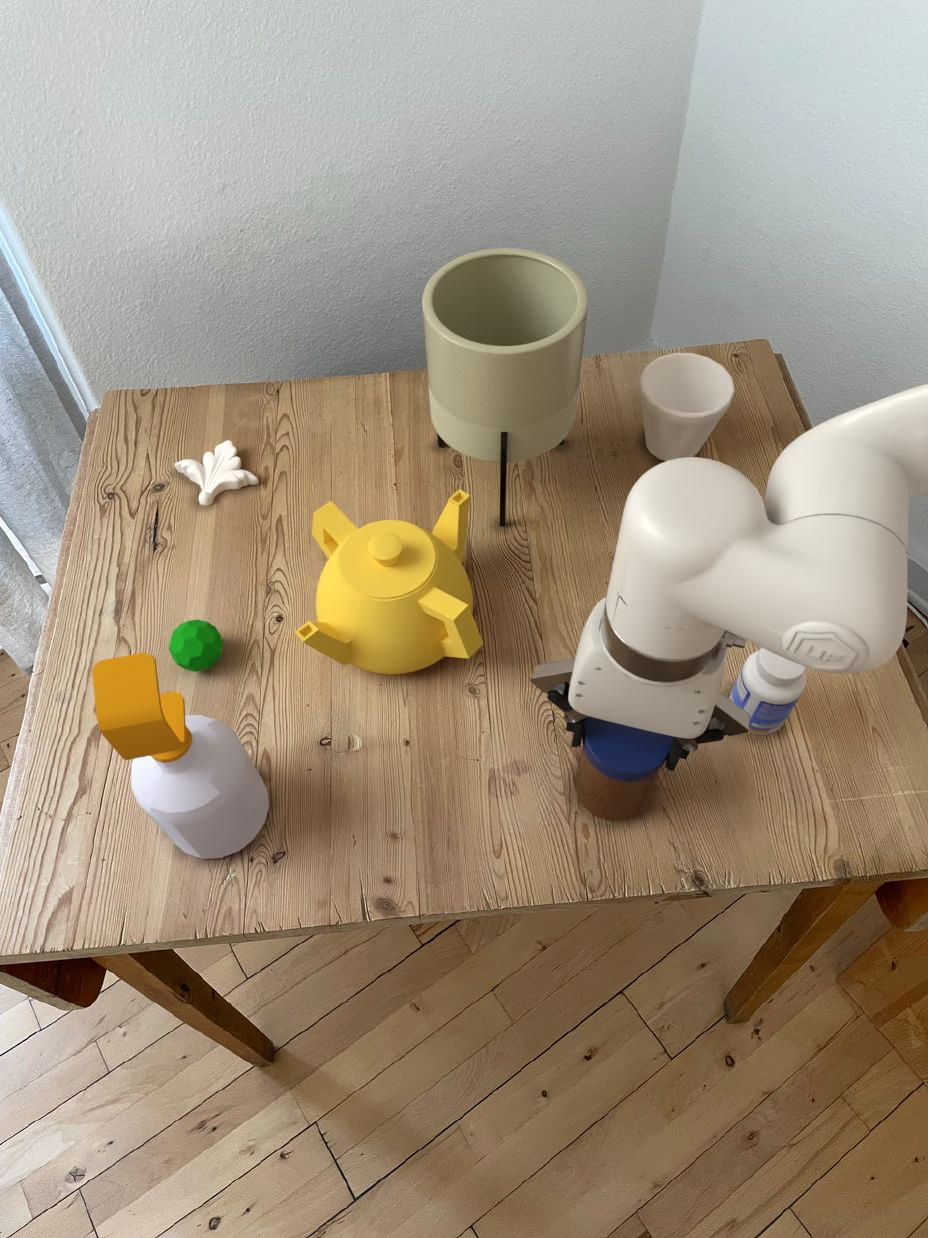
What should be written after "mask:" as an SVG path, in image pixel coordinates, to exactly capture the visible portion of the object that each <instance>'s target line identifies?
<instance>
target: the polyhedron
mask: <svg viewBox="0 0 928 1238" xmlns="http://www.w3.org/2000/svg"><path fill="white" fill-rule="evenodd" d="M223 646H224V640H223V637H222V635H221V633H220V631H219V630H218V628H217V627H216V626H215V625H213V624H212V623H210V622H208V621H205V620H202V619H191V620H186V621H184V622H182V623H180V624H178V626H177V627H176V628H175V629H174V630H172V633H171V637H170V640H169V645H168V651H169V654H170V655H171V658H172V660H173V661H174V662H175V664H176V665H177V666H178V667H180V668H182V669H184V670H186V671H190V672H193V673H195V672H201V671H204V670H208V669H211V668H212V667H213V666H214V665H215V664H216V663H218V661H219V660H220V659H221V656H222V653H223Z"/></svg>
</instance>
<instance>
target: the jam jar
mask: <svg viewBox="0 0 928 1238" xmlns="http://www.w3.org/2000/svg"><path fill="white" fill-rule="evenodd" d="M659 773H660V770H659V771H658V772H656V773H655V774H654V775H652V776H651V777H649V778H647V779H644V780H641V781H635V782H624V781H618V780H615V779H612V778H609V777H607V776H605V775H604V774H602V773H601V772H599V771H598V770H597V769H596V768H595V767H594V766H593V765H592V764H591V763H590V761H589V760H588V758H587V756H586V754H585V752H584V748H583V744H581V750H580V756H579V759H578V764H577V770H576V774H575V778H574V786H575V793H576V796H577V798H578V800H579V802H580V803H581V805H582V806H583V808H584V809H586V810H587V811H588V812H589V813H590V814H591V815H594V816H595V817H597V818H599V819H602V820H604V821H609V822H610V821H611V822H619V821H626V820H628V819H631V818H633V817H634V816H636V815H638V813H640V812H641V811H642V810H643V809H644V807H645V805H646V804H647V802H648V799H649V797H650V794H651V791H652V789H653V787H654V785H655V782H656V779H657V778H658V775H659Z"/></svg>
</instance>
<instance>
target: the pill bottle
mask: <svg viewBox="0 0 928 1238" xmlns="http://www.w3.org/2000/svg"><path fill="white" fill-rule="evenodd" d="M806 670H807V667H804V666H802V665H800V664H798V663H795V662H792V661H790V660H788V659H785V658H783V657H781V656H779V655H776V654H774V653H772V652H770V651H768V650H766V649H764V648H762V647H760V649H758V650H756V651H754V652H752V653H751V654H750V655H749V656H748V657H747V659H746V660H745V661H744V664H743V665H742V668H741V670H740V672H739V674H738V676H737V678H736V681H735V682H734V685H733V687H732V689H731V692H730V694H729V696H728V698H729V699H730V700H731V701H733V702H734V703H735V704H737V705H738V706H739V707H741V708H742V709H743V710H744V711H746V712H747V713H748V714H750V725H749V731H748V732H747V733H749V734H753V735H760V736H763V735H769V734H772V733H774V732H777V731H778V730H779V729H781V728H782V727H783V725H784V724H785V722H786V721H787V720H788V717H789V716H790V714H791V713H792V711H793V710H794V707H795V706H796V704H797V703H798V701H799V699H800V697H801V696H802V694H803V693H804V690H805V689H806V686H807V683H808V681H807V680H808V677H807V671H806Z"/></svg>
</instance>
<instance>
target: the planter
mask: <svg viewBox="0 0 928 1238" xmlns="http://www.w3.org/2000/svg"><path fill="white" fill-rule="evenodd" d="M424 287H425V288H424V289H423V293H422V297H421V299H422V300H421V304H422V305H421V306H422V319H423V333H424V344H425V357H426V370H427V383H428V398H429V411H430V419H431V423H432V425H433V427H434V429H435V431H436V436H437V447H439V448H444V446H445V445H446V444H447V445H448V446H449V447H450V448H451V449H453V450H455V451H457V452H458V453H460V454H462V455H464V456H467V457H469V458H472V459H474V460H479V461H483V462H489V463H499V519H498V520H499V527H506V514H507V511H506V509H507V468H508V464H509V463H518V462H523V461H527V460H531V459H534V458H537V457H539V456H542V455H544V454H546V453H548V452H549V451H551V450H553V449H555V448H556V447H557V446H558V445H559V446H563V445H565V442H566V441H565V440H566V437H567V436H568V435H569V433H570V432H571V430H572V428H573V426H574V424H575V420H576V414H577V406H578V398H579V387H580V378H581V371H582V370H581V369H582V361H583V352H584V342H585V334H586V325H587V317H588V316H587V315H588V307H589V296H588V291H587V288H586V285H585V283H584V282H583V279H581V277H580V276H579V275H578V273H576V271H574V270H573V269H572V268H571V267H570V266H568V265H567V264H566V263H564V262H562V261H561V260H559V259H557V258H555V257H553V256H552V255H551V256H550V255H548V254H545V253H543V252H539V251H536V250H531V249H526V248H525V249H524V248H517V247H494V248H486V249H481V250H476V251H471V252H469V253H466V254H463V255H461V256H459V257H456V258H454V259H452V260H451V261H449V262H447V263H445V264H444V265H442V266H441V267H440V268H439V269H438V270H437V271H436V272H435V273H433V275H431V277H430V278H429V280H428V281H427V283H426V285H425V286H424Z"/></svg>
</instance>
